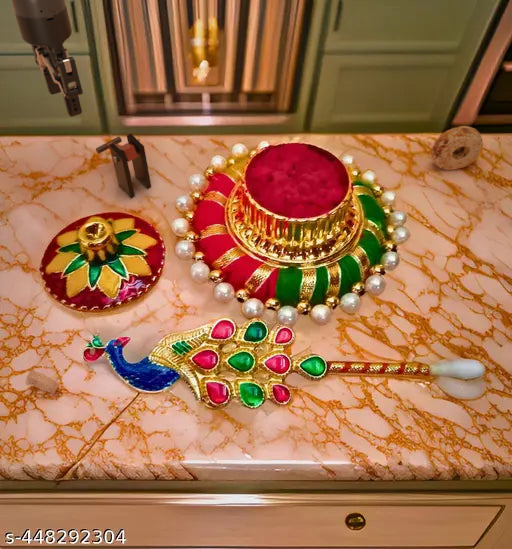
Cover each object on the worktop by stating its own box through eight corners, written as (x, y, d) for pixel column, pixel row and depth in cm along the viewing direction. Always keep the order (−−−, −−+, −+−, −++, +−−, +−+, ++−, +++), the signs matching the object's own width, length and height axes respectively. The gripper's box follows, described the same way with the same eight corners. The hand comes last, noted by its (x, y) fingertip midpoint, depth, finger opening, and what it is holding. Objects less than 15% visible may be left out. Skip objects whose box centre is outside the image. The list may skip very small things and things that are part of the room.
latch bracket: (104, 184, 120) (92, 138, 109) (136, 166, 123) (127, 120, 112) (135, 216, 116) (125, 172, 105) (167, 197, 119) (161, 152, 108)
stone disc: (429, 173, 125) (443, 139, 116) (424, 161, 127) (438, 126, 118) (475, 169, 126) (492, 136, 117) (469, 157, 128) (486, 123, 119)
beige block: (38, 376, 97) (29, 364, 92) (64, 385, 96) (56, 374, 92) (30, 390, 95) (20, 379, 91) (55, 400, 94) (47, 389, 90)
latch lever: (98, 156, 117) (93, 145, 115) (121, 143, 119) (116, 133, 117) (121, 165, 109) (116, 154, 107) (145, 152, 111) (140, 141, 109)
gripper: (-1, -5, 88) (29, 92, 100) (32, 28, 80) (60, 129, 92) (46, -16, 91) (70, 80, 103) (82, 15, 83) (103, 115, 95)
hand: (65, 103), depth 98 cm, fingers open, 8 cm apart
